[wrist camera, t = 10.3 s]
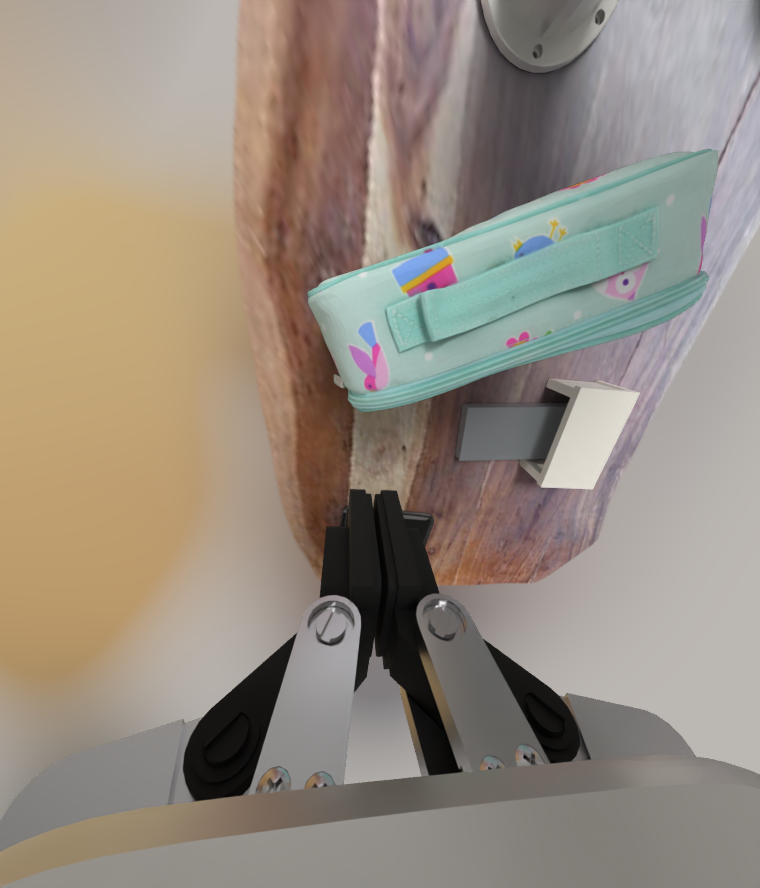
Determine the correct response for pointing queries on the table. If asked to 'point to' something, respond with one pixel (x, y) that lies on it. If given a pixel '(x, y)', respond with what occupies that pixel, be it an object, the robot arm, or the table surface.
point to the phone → (406, 522)
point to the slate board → (507, 430)
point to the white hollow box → (583, 434)
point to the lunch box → (523, 284)
